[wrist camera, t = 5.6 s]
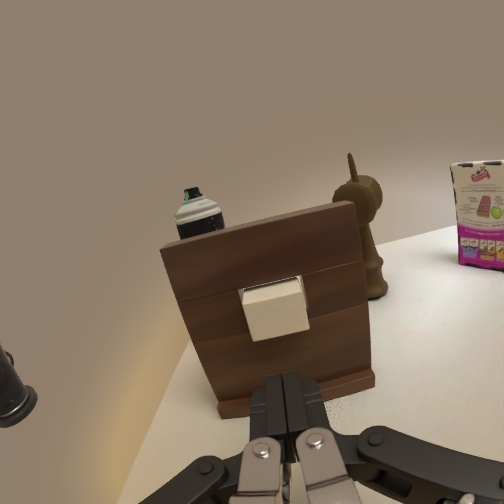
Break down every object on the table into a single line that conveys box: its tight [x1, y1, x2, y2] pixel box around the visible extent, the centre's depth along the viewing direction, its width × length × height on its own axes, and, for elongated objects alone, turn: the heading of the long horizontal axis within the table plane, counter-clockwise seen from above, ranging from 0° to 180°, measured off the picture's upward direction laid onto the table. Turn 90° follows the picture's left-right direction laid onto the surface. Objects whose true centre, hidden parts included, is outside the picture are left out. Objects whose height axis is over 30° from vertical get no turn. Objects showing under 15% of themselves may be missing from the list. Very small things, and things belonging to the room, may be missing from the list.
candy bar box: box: [450, 160, 504, 271], centre depth 31 cm, size 11×5×16 cm, turn 28°
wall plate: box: [160, 200, 375, 419], centre depth 23 cm, size 8×14×16 cm, turn 89°
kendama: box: [332, 153, 388, 298], centre depth 36 cm, size 6×10×20 cm, turn 150°
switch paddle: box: [242, 277, 310, 341], centre depth 20 cm, size 3×4×3 cm
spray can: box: [175, 187, 244, 293], centre depth 34 cm, size 6×6×20 cm
